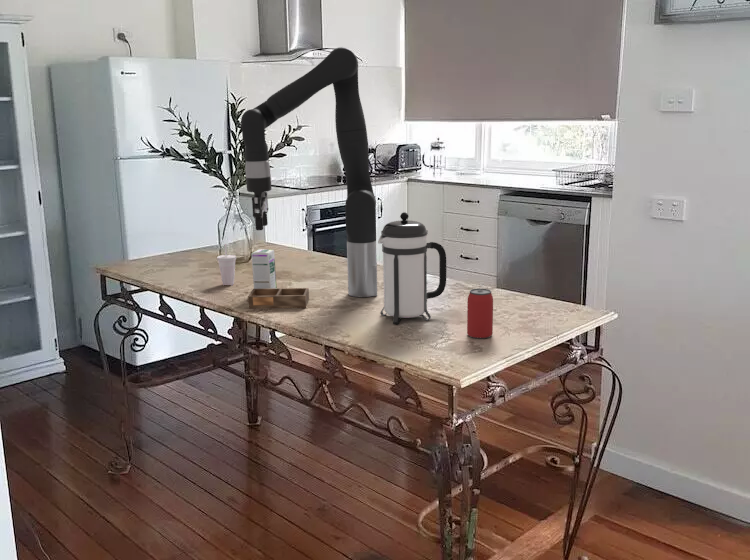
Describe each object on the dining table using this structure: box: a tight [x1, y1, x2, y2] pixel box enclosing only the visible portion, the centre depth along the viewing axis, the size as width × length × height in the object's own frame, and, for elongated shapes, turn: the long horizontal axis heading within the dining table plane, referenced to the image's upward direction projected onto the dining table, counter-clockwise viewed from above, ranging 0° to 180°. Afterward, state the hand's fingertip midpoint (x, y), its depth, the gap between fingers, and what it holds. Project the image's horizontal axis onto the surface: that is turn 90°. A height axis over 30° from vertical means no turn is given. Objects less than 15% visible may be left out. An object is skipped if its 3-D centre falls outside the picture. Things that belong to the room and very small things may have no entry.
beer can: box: [466, 287, 494, 340], centre depth 196 cm, size 7×7×12 cm
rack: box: [247, 287, 310, 310], centre depth 231 cm, size 17×10×4 cm, turn 89°
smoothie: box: [216, 243, 237, 286], centre depth 255 cm, size 6×6×14 cm
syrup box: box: [251, 248, 278, 289], centre depth 240 cm, size 6×6×14 cm
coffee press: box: [377, 211, 447, 325], centre depth 212 cm, size 17×16×30 cm
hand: (261, 227), depth 237 cm, fingers open, 8 cm apart
